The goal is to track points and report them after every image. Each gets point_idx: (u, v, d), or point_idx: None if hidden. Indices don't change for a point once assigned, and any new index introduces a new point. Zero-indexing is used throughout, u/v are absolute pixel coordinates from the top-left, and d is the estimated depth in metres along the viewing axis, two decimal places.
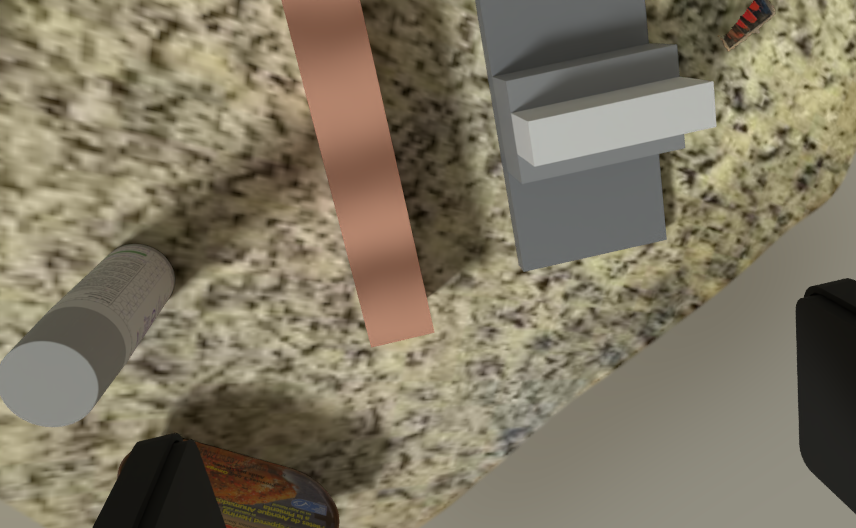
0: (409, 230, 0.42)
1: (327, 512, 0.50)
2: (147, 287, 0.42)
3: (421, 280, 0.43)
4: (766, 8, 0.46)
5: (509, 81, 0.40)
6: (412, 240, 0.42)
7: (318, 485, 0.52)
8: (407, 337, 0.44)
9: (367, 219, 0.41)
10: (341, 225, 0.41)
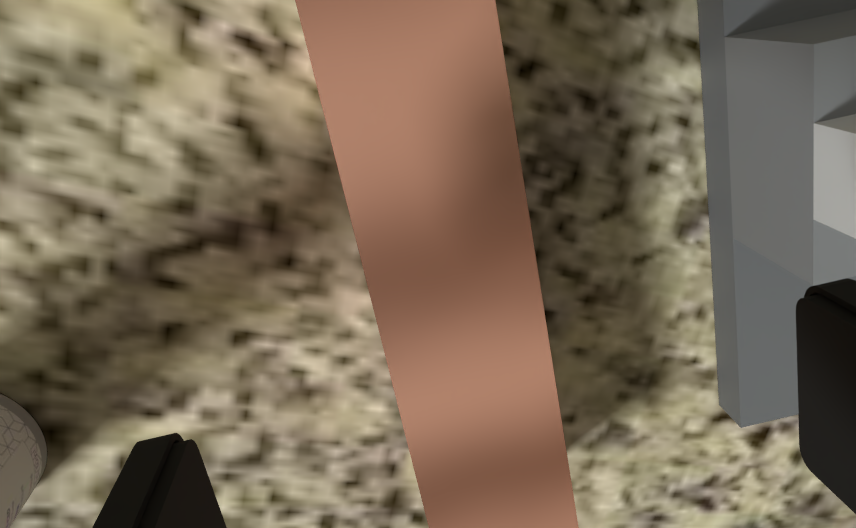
0: (552, 393, 0.18)
1: None
2: None
3: (570, 493, 0.19)
4: None
5: (821, 44, 0.16)
6: (557, 414, 0.18)
7: None
8: None
9: (459, 371, 0.18)
10: (397, 386, 0.18)
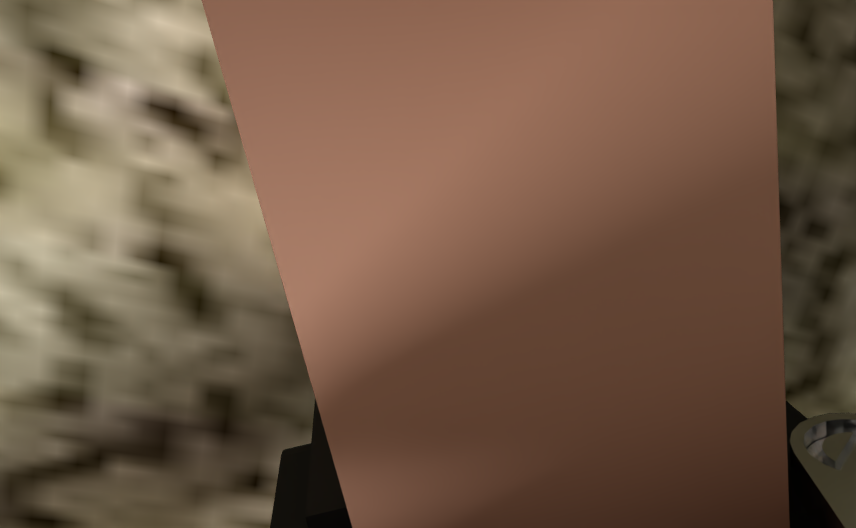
0: None
1: None
2: None
3: None
4: None
5: None
6: None
7: None
8: None
9: None
10: None
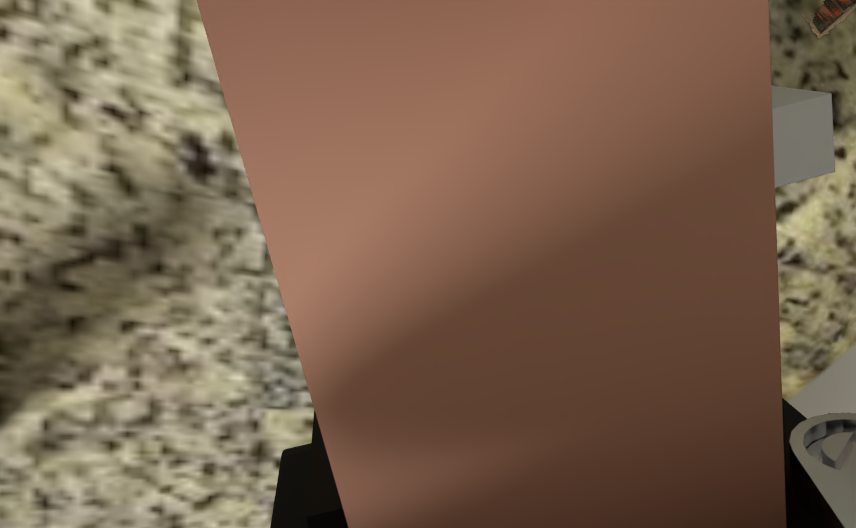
0: None
1: None
2: None
3: None
4: None
5: None
6: None
7: None
8: None
9: None
10: None
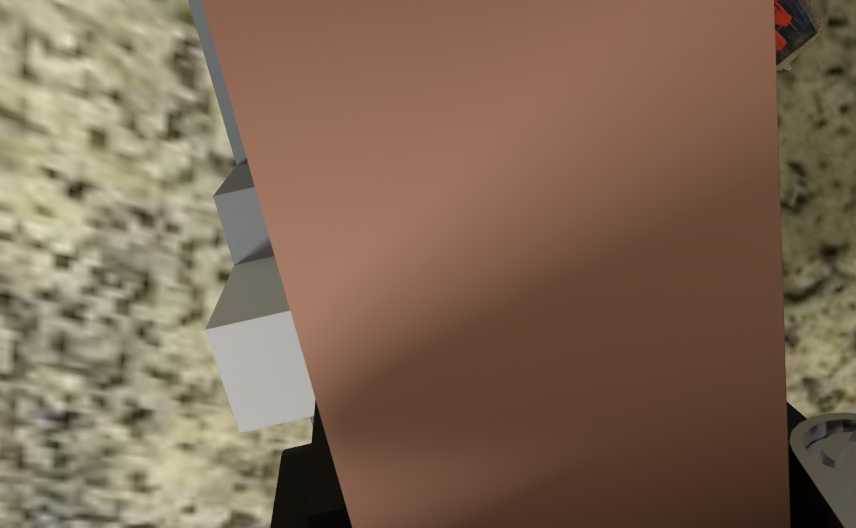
0: None
1: None
2: None
3: None
4: (806, 20, 0.23)
5: (222, 196, 0.17)
6: None
7: None
8: None
9: None
10: None
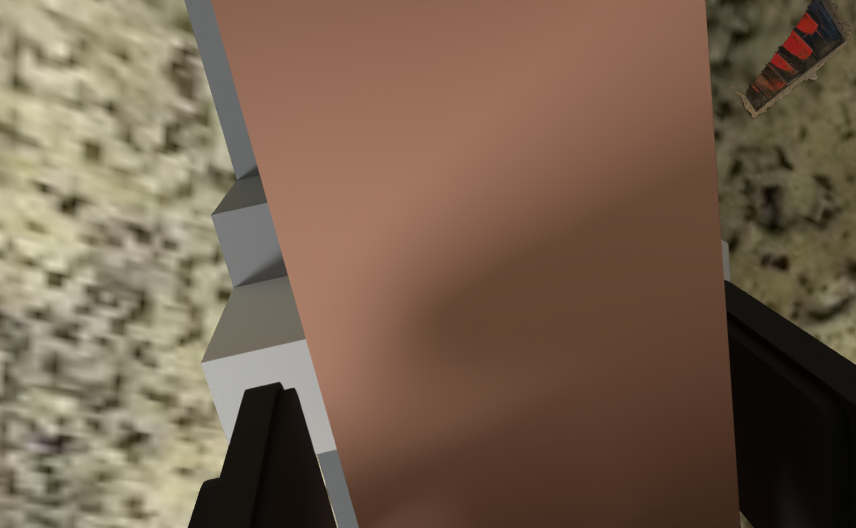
0: None
1: None
2: None
3: None
4: (832, 28, 0.22)
5: (220, 215, 0.16)
6: None
7: None
8: None
9: None
10: None
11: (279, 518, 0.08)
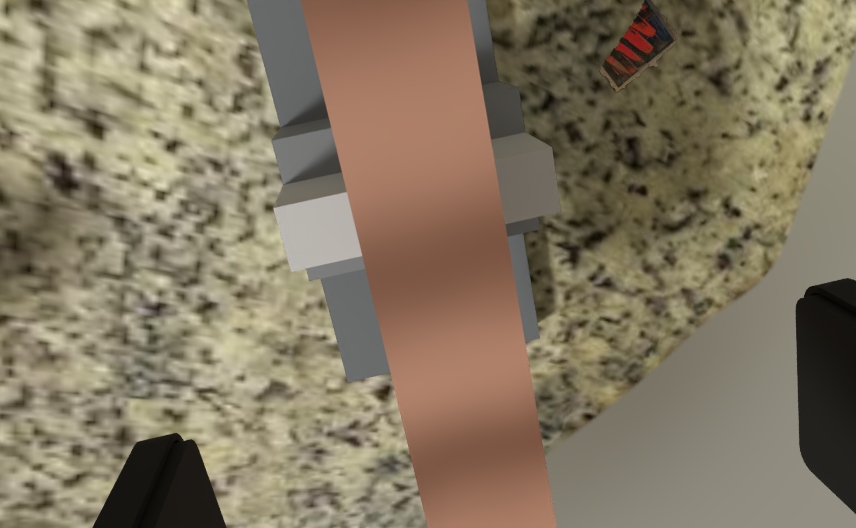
0: (527, 379, 0.21)
1: None
2: None
3: (544, 469, 0.22)
4: (665, 32, 0.34)
5: (276, 140, 0.28)
6: (532, 397, 0.21)
7: None
8: None
9: (446, 358, 0.21)
10: (393, 371, 0.21)
11: None
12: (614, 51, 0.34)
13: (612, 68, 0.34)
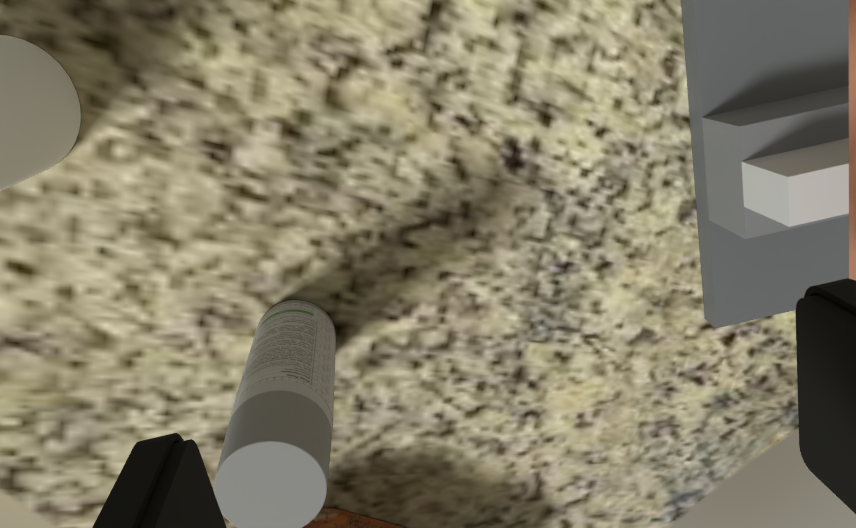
0: None
1: None
2: (327, 355, 0.37)
3: None
4: None
5: (743, 126, 0.36)
6: None
7: None
8: None
9: None
10: None
11: None
12: None
13: None
